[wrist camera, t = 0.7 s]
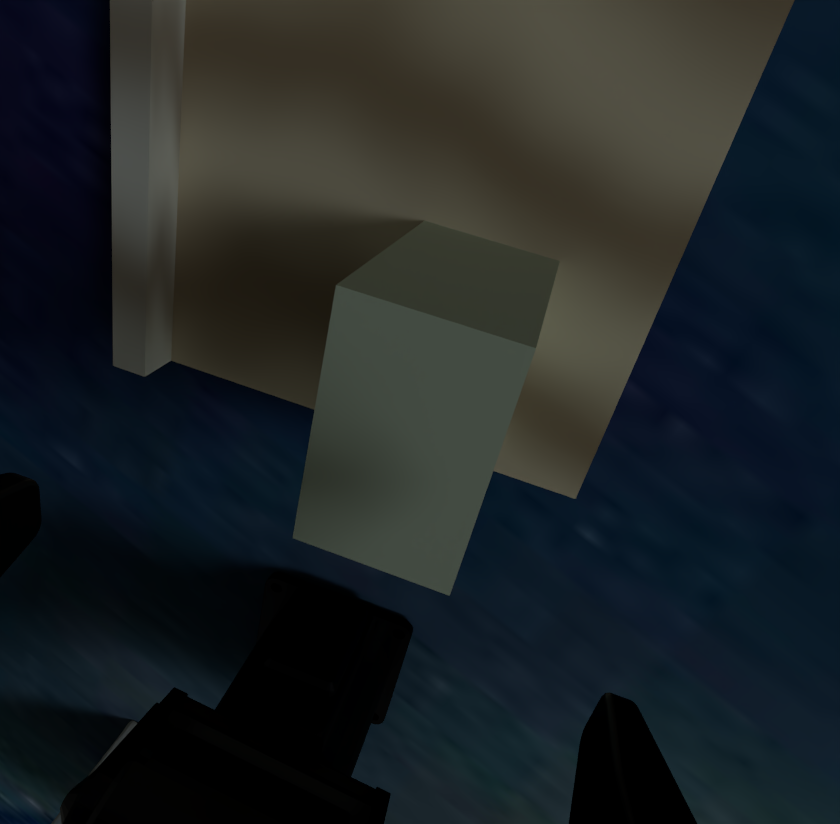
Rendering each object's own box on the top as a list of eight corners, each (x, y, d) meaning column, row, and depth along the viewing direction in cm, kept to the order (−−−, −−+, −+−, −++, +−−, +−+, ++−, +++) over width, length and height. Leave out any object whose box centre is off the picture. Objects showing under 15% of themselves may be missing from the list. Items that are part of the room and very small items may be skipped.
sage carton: (559, 261, 18) (535, 348, 12) (493, 454, 21) (448, 600, 15) (424, 220, 18) (336, 284, 12) (379, 415, 22) (291, 542, 16)
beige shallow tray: (576, 482, 22) (573, 525, 20) (153, 338, 24) (107, 363, 22) (904, -274, 13) (964, -348, 11) (171, -413, 15) (96, -499, 13)
